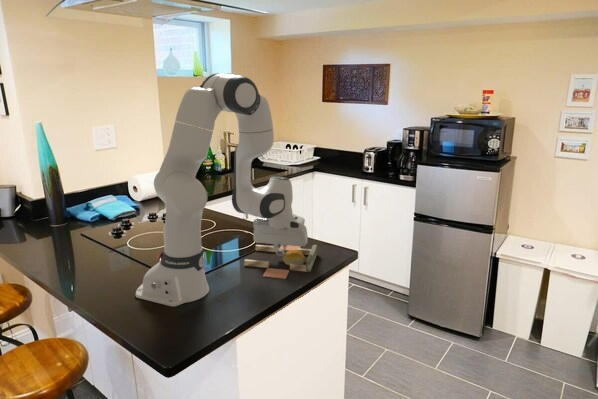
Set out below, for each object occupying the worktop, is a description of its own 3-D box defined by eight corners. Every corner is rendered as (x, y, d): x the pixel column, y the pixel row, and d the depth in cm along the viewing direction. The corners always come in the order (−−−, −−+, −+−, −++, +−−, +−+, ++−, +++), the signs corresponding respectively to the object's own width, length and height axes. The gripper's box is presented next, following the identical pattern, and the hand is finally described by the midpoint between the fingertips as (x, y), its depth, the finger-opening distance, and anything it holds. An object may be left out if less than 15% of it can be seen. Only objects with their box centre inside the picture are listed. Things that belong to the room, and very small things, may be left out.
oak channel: (244, 265, 152) (244, 255, 151) (256, 249, 166) (256, 239, 165) (310, 271, 147) (310, 261, 146) (316, 254, 162) (317, 245, 161)
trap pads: (263, 276, 144) (263, 275, 143) (282, 244, 171) (282, 243, 171) (285, 278, 142) (285, 277, 142) (301, 246, 170) (301, 245, 170)
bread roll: (301, 255, 161) (301, 246, 160) (307, 265, 152) (307, 255, 151) (280, 257, 159) (280, 247, 158) (285, 267, 151) (285, 257, 149)
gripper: (250, 220, 151) (251, 255, 155) (305, 224, 148) (305, 260, 152) (255, 215, 157) (256, 249, 161) (308, 219, 154) (308, 253, 158)
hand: (280, 254), depth 156 cm, fingers closed
